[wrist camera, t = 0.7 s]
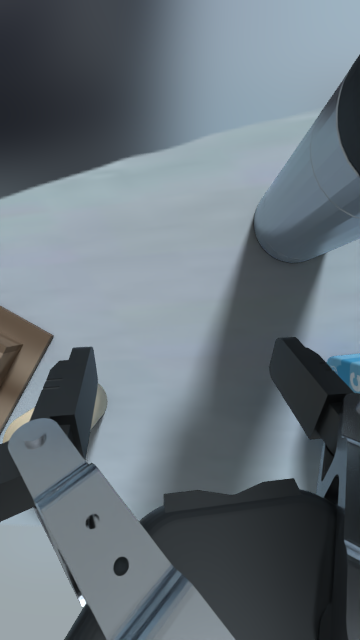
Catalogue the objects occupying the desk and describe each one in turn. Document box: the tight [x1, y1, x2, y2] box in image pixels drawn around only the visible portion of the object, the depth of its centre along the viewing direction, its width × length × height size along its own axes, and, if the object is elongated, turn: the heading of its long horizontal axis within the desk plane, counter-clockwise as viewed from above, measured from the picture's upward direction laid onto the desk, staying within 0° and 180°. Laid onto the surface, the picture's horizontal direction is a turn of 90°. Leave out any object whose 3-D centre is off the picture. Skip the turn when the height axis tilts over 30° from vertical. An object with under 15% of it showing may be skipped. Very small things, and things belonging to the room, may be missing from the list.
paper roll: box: [3, 384, 107, 443], centre depth 27 cm, size 5×5×11 cm
